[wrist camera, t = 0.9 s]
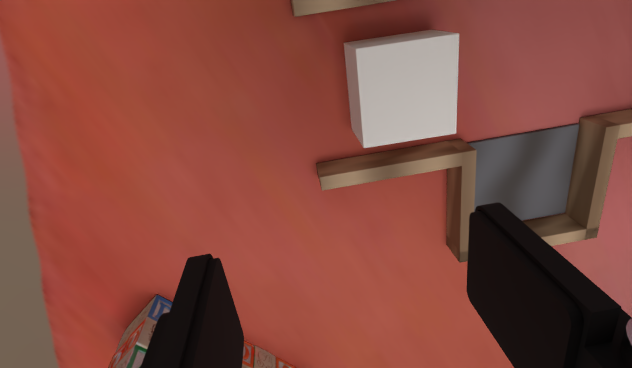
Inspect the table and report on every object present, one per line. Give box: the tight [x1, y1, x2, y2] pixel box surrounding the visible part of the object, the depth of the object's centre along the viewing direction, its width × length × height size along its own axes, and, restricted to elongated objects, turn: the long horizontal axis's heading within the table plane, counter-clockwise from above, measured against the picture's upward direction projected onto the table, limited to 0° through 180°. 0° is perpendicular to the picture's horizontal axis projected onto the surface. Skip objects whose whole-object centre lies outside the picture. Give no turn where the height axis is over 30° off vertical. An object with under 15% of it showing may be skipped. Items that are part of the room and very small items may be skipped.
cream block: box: [344, 30, 459, 148], centre depth 29 cm, size 7×7×5 cm
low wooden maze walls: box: [291, 0, 632, 262], centre depth 30 cm, size 35×34×3 cm
